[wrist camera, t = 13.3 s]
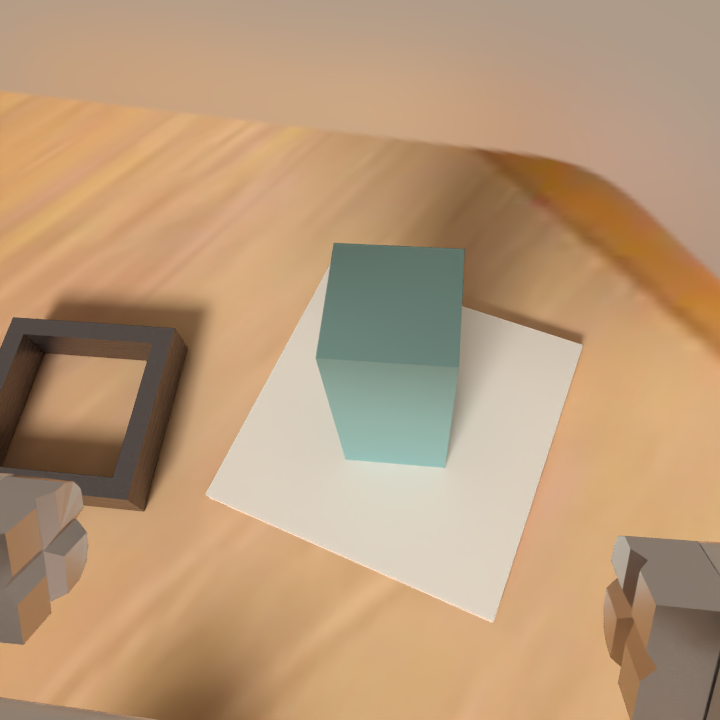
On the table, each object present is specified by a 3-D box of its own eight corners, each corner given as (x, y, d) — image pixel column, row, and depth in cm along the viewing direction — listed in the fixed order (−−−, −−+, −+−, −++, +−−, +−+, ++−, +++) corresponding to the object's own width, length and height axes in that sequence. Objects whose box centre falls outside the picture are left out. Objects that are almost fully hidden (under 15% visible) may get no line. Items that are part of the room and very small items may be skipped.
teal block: (345, 459, 26) (315, 358, 18) (356, 371, 28) (334, 243, 20) (445, 467, 26) (458, 367, 18) (449, 377, 27) (464, 248, 19)
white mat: (209, 498, 26) (205, 494, 26) (331, 270, 31) (330, 263, 31) (491, 622, 24) (493, 621, 23) (579, 351, 28) (583, 345, 28)
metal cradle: (-28, 493, 27) (-55, 481, 26) (33, 336, 31) (13, 317, 29) (143, 511, 26) (126, 499, 25) (187, 347, 30) (174, 328, 28)
